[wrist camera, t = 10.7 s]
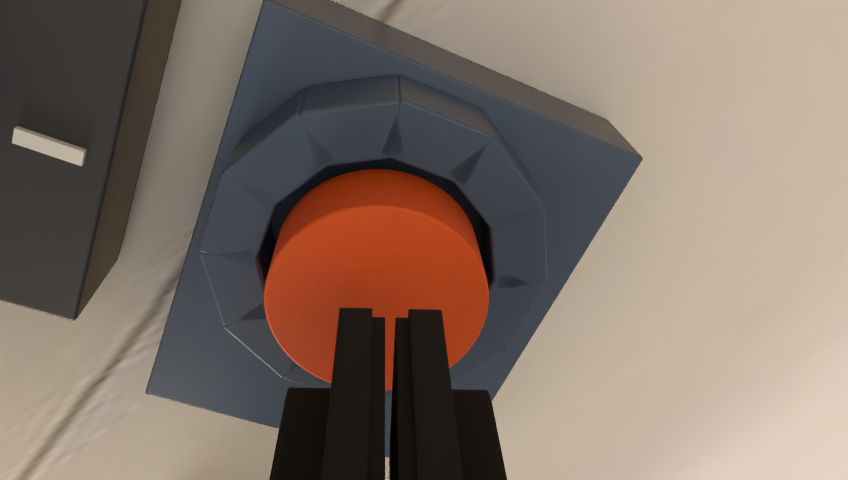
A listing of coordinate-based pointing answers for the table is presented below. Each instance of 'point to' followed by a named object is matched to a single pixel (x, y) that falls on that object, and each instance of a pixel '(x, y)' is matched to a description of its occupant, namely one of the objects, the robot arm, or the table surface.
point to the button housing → (379, 149)
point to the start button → (373, 265)
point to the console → (73, 139)
